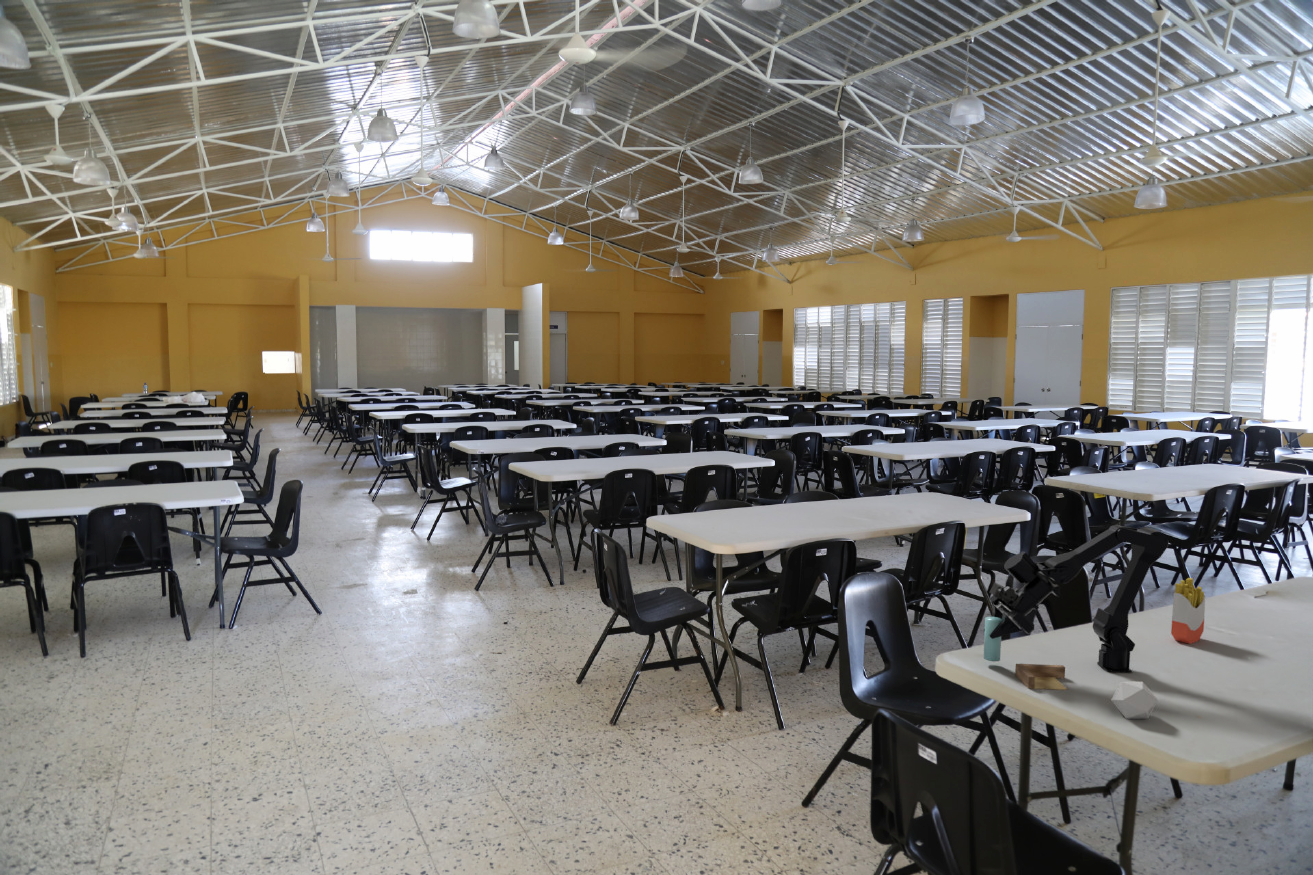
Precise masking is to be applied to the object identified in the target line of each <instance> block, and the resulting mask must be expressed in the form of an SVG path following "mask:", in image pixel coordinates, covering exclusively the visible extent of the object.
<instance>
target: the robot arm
mask: <svg viewBox="0 0 1313 875" xmlns="http://www.w3.org/2000/svg"><path fill="white" fill-rule="evenodd" d="M1169 541H1170V540H1169V539H1168V537H1167V535H1166V534H1165V533H1164V532H1161V531H1159V530H1157V529H1154V528H1151V527H1146V526H1145V527H1144V526H1143V527H1141V528H1133V527H1129V526H1128V527H1127V526H1122V525H1120V524H1113V525H1111V526H1110V527H1109V528H1108V529H1106V530H1105V531H1103V532H1102V533H1100V534H1097V536H1095V537H1093V538H1092V539H1090V540H1089V541H1086V542H1085V543H1083V544H1081V545H1080V546H1079V547H1076V548H1075V549H1074V550H1071V551H1069V552H1065V553H1060V554H1057V555H1055V556H1052V557H1050V558H1047V559H1046V560H1045V561H1038V562H1034V560H1032V558H1031V557H1030V555H1029V554H1028V553H1027V552H1025V551H1021V552H1020V553H1017V554H1015V555H1013V556H1011V557H1009V558H1008V559H1007V560H1006V561H1005V562H1004V566H1003V567H1004V570H1006V571H1007V572H1008V573H1009V575H1011V576H1012V577H1013V578H1014V580H1016V581H1017V582H1018V583H1019V584H1024V585H1023V586H1022V587H1021V588H1020V589H1019V588H1018V587H1016V588H1013V587H1010V586H1004V585H1001V584H999V583H997V582H994V583H993V584H992V586H991V588H990V591H989V593H988V594H992V595H991V597H989V598H988V600H989V601H990V602H991V603H992V604H991V607H992V614H991V616H990V617H998V618H1001V619H1002V621H1001V622H1000V623H999V625H998V626H997V627H996V628H995V629H994V630H993V631H992V633H991V634H990V637H991V638H992V639H994V638H997V637H1000V636H1001V637H1003V636H1007V635H1010V634H1015V633H1019V632H1020V633H1023V631H1024V632H1025V633H1026V634H1028V635H1030V634H1031V633H1032V632H1033V631H1035V624H1034V623H1033V622H1032V621H1031V620H1030V619H1029V618H1028V617H1027V615H1028V614H1029V613H1031V612H1032V610H1035V611H1037V610H1038V609H1040V606H1038V605H1040V603H1042V602H1043V601H1044V599H1046V598H1047V597H1048V596H1049V595H1050V594H1053V595H1054V596H1056V597H1058V598H1059V597H1061V592H1060V589H1061V587H1060V586H1059V585H1058V584H1068V583H1069V582H1070V581H1072V580H1073V579H1074V578H1076V577H1077V576H1078V575H1079V573H1080V572H1081V571H1082V569H1083V568H1084V567H1085V566H1086V565H1087V564H1089V563H1091V562H1092V561H1094V560H1096V559H1097V558H1099V557H1101V556H1102V555H1104V554H1106V553H1107V552H1109V551H1111V550H1112V549H1114V548H1115V547H1118V546H1119V545H1120V544H1123V543H1128V544H1131V546H1130V547H1131V548H1130V549H1131V557H1130V559H1129V562H1128V564H1127V566H1126V568H1125V571H1124V573H1123V575H1122V577H1121V579H1120V581H1119V584H1118V586H1117V588H1116V590H1115V593H1114V594H1113V597H1112V599H1111V601H1110V603H1109V604H1108V606H1107V607H1105V608H1104V609H1102V608H1101V607H1098V608H1097V609H1096V613H1095V616H1094V617H1093V618H1092V620H1091V621H1092V622H1093V624H1092V629H1093V632H1094V633H1095V635H1097V637H1098V640H1099V642H1102V643H1101V644H1100V645H1101V646H1100V649H1099V650H1098V661H1097V665H1098V666H1100V667H1101V668H1102V669H1103V670H1105V671H1106V672H1109V673H1133V670H1132V669H1131V668H1130V664H1131V663H1130V661H1131V652H1133V651H1134V649H1135V646H1136V643H1135V642H1134V641H1133V640H1132V639H1131V638H1130V637H1129V636H1128V635H1127V633H1128V629H1129V613H1130V610H1131V608H1132V606H1133V603H1134V602H1135V600H1136V597H1137V596H1138V593H1139V591H1140V589H1141V587H1142V585H1143V582H1144V580H1145V579H1146V576H1147V574H1148V573H1149V570H1150V568H1151V567H1152V565H1153V564H1154V563H1155V562H1157V561H1158V560H1159V559H1160V558H1162V556H1163V554H1164V553H1165V552H1166V551H1167V549H1168V547H1169ZM1039 573H1040V574H1041V575H1043V576H1044V577H1042V576H1041V575H1040V574H1039ZM1050 579H1051V580H1052V581H1054V582H1055V584H1054V583H1053V582H1052V581H1051V580H1050ZM1056 583H1058V584H1056ZM1022 629H1023V630H1022ZM983 632H984V633H985V627H984V628H983Z"/></svg>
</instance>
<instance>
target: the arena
mask: <svg viewBox="0 0 1313 875" xmlns="http://www.w3.org/2000/svg"><path fill="white" fill-rule="evenodd" d="M1014 671H1015V672H1014V674H1015V675H1014V676H1015V677H1016V678H1018V680H1019V681H1021V683H1022V684H1024V686H1025V687H1026V689H1032V690H1034V689H1035V690H1056V691H1057V690H1058V691H1059V690H1060V691H1061V690H1062V691H1067V690H1068V688H1067V687H1066V686H1065V685H1063V684H1062V683H1061V682H1060V681H1059V680H1058V679H1063V680H1064V679H1065V677H1066V666H1064V664H1063V665H1061V664H1039V663H1038V664H1037V663H1035V664H1032V663H1015V670H1014Z"/></svg>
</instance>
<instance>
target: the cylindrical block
mask: <svg viewBox="0 0 1313 875" xmlns="http://www.w3.org/2000/svg"><path fill="white" fill-rule="evenodd" d="M1001 621H1002V619H1001V618H998V617H991V616H985V617H984V628H985V632H984V642H983V660H986V661H988V662H1000V661H1001V655H1002V654H1001V652H1002V651H1001V650H1002V649H1001V648H1002V636H1000V637H997V638H994V639H992V638H991V637H990V634H991V633H992V631H993V630H994V629H995V628H996V627H997V626H998V625H999V623H1000V622H1001Z"/></svg>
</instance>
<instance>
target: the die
mask: <svg viewBox="0 0 1313 875" xmlns="http://www.w3.org/2000/svg"><path fill="white" fill-rule="evenodd" d="M1110 700H1111V702H1112V703H1113V704H1114V705H1115V706H1116V708H1117V709H1118V710H1119V712H1120V713H1121V714H1122V715H1123V716H1124V718H1125V719H1131V720H1132V719H1135V720H1136V719H1137V720H1139V719H1140V720H1141V719H1143V720H1148V719H1149V717H1150V716H1151V714H1152V712H1153V710H1154V709H1155V707H1156V705H1157V703H1158V702H1159V699H1158V698H1157V697H1156V695H1155V694H1154V693H1153V692H1152V691H1151V690H1150V689H1149V687H1148V686H1147V684H1145V683H1144V682H1143V681H1120V682H1119V685H1118V686H1117V688H1116V690H1115V692H1114V693H1113V695H1112V697H1111V699H1110Z"/></svg>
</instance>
